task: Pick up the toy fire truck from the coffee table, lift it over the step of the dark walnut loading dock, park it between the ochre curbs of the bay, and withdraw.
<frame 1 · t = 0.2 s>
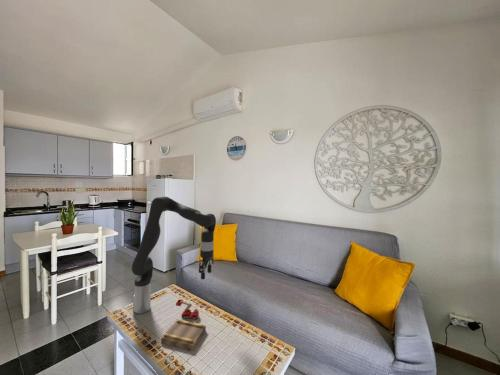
hand: (206, 275, 121), 28 cm above the table, fingers open, 8 cm apart
toy fire truck: (187, 317, 126), on the table
loading dock: (184, 336, 110), on the table
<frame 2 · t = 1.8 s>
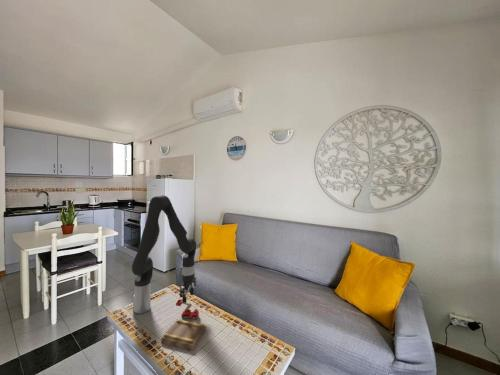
hand: (188, 298, 126), 11 cm above the table, fingers open, 8 cm apart
nothing on the table moved.
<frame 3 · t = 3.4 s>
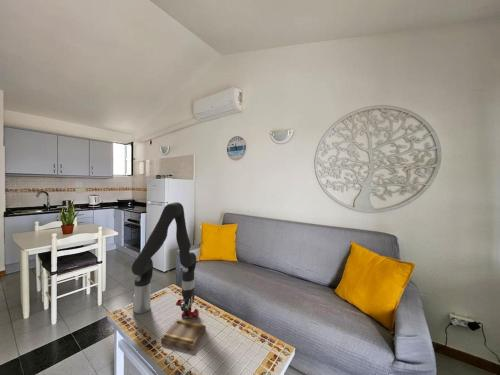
hand: (187, 313, 126), 2 cm above the table, fingers closed on toy fire truck, 3 cm apart
toy fire truck: (187, 316, 126), on the table, touching gripper
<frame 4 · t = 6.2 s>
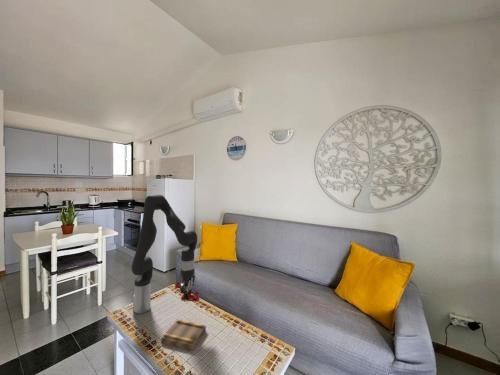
hand: (187, 297, 117), 18 cm above the table, fingers closed on toy fire truck, 3 cm apart
toy fire truck: (187, 300, 117), point 16 cm above the table, touching gripper
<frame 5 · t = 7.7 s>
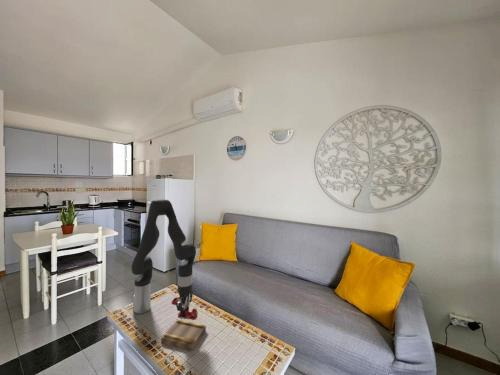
hand: (184, 314, 110), 12 cm above the table, fingers closed on toy fire truck, 3 cm apart
toy fire truck: (184, 317, 110), point 10 cm above the table, touching gripper
when the fingers open (6 cm above the table, at t = 9.1 s): toy fire truck drops 1 cm, resting on loading dock.
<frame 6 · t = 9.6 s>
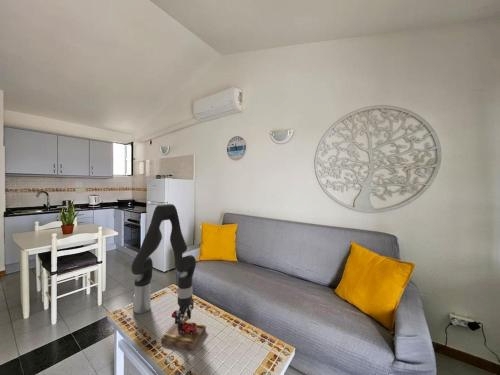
hand: (184, 323, 110), 7 cm above the table, fingers open, 8 cm apart
toy fire truck: (184, 331, 110), point 3 cm above the table, touching loading dock
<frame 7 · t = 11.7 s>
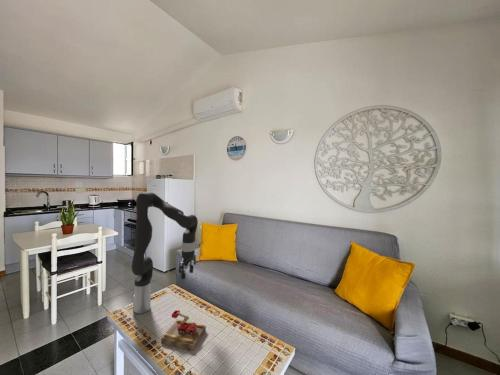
hand: (187, 275, 123), 27 cm above the table, fingers open, 8 cm apart
nothing on the table moved.
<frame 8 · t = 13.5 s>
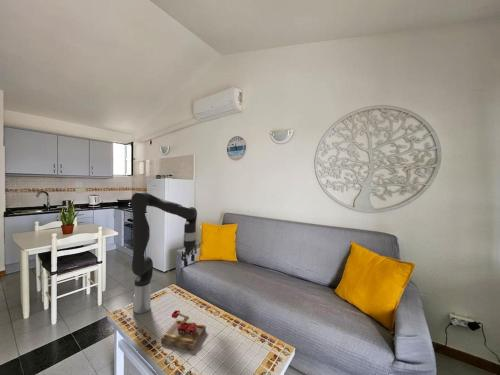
hand: (189, 263, 132), 30 cm above the table, fingers open, 8 cm apart
nothing on the table moved.
at the end: toy fire truck inside the target area on the loading dock (0.3 cm from its centre), point 2.8 cm above the loading dock's base; toy fire truck tilted 0°; the gripper is holding nothing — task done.
